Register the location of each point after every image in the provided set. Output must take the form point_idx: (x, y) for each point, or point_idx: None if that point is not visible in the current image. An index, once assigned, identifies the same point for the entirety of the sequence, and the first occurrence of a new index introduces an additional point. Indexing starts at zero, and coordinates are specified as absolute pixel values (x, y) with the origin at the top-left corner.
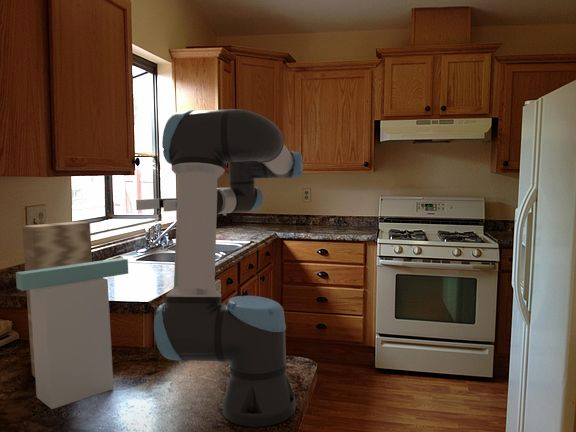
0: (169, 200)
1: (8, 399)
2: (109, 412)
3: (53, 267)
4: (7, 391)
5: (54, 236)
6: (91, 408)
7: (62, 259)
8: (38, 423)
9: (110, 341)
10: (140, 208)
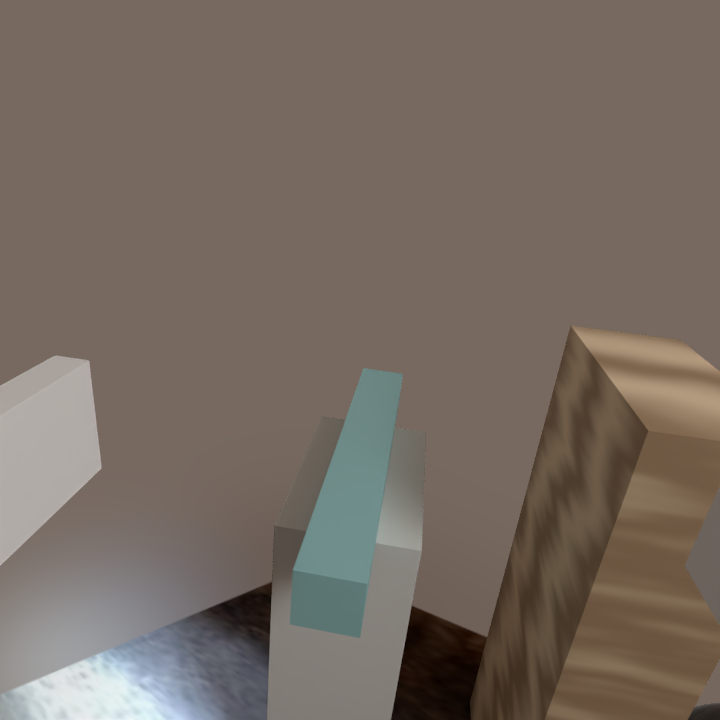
0: (8, 381)
1: (426, 617)
2: (171, 683)
3: (390, 414)
4: (473, 636)
5: (579, 394)
6: (228, 675)
7: (560, 490)
8: None
9: (268, 685)
10: (706, 579)
